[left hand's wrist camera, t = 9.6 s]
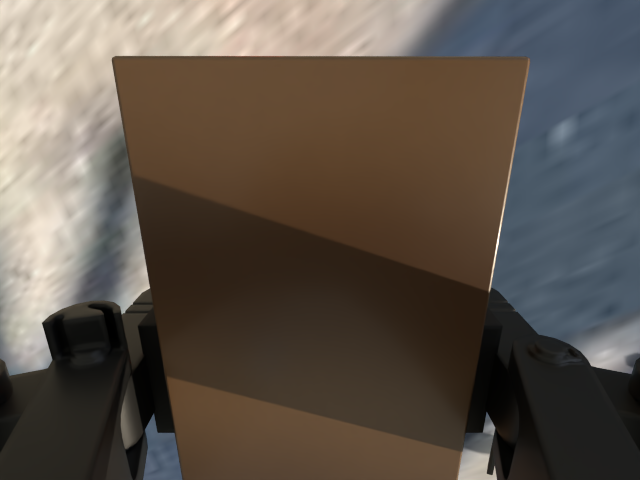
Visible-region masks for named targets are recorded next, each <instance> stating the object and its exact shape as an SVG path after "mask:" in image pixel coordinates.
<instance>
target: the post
mask: <svg viewBox="0 0 640 480" xmlns="http://www.w3.org/2000/svg"><path fill="white" fill-rule="evenodd" d="M529 64H530V58H528V57H415V56H115V57H113V58H112V65H113V71H114V76H115V82H116V88H117V94H118V100H119V106H120V112H121V118H122V124H123V130H124V136H125V142H126V148H127V153H128V159H129V165H130V171H131V177H132V183H133V189H134V195H135V201H136V207H137V213H138V219H139V225H140V231H141V236H142V242H143V248H144V254H145V260H146V266H147V272H148V278H149V284H150V290H151V296H152V302H153V308H154V313H155V319H156V325H157V331H158V337H159V343H160V349H161V355H162V361H163V367H164V373H165V379H166V385H167V391H168V396H169V402H170V408H171V414H172V420H173V426H174V432H175V438H176V444H177V450H178V456H179V462H180V468H181V473H182V479H183V480H458V474H459V468H460V462H461V456H462V451H463V445H464V439H465V433H466V428H467V422H468V416H469V410H470V405H471V399H472V393H473V387H474V382H475V376H476V370H477V364H478V358H479V353H480V347H481V341H482V335H483V330H484V324H485V318H486V312H487V307H488V301H489V295H490V289H491V283H492V278H493V272H494V266H495V260H496V255H497V249H498V243H499V237H500V232H501V226H502V220H503V214H504V209H505V203H506V197H507V191H508V185H509V180H510V174H511V168H512V162H513V157H514V151H515V145H516V139H517V134H518V128H519V122H520V116H521V110H522V105H523V99H524V93H525V87H526V82H527V76H528V70H529Z"/></svg>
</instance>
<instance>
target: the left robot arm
mask: <svg viewBox="0 0 640 480" xmlns="http://www.w3.org/2000/svg"><path fill="white" fill-rule="evenodd" d="M42 325H43V328H44V332H45V335H46V339H47V342H48V346H49V349H50V353H51V356H52V362H51V364H50V366H49V367H48V368H47V369H43V370H38V371H33V372H28V373H22V374H17V375H12V376H9V373H8V370H7V367H6V364H5V362H4V361H3V360H1V359H0V480H143V476H144V469H145V462H146V456H147V449H148V445H147V438H146V433H145V429H146V427H147V425H148V423H149V421H150V419H151V417H152V415H153V414H154V416H155V421H156V426H157V432H158V433H175V432H174V426H173V420H172V414H171V408H170V402H169V396H168V391H167V385H166V379H165V373H164V367H163V361H162V355H161V349H160V343H159V337H158V331H157V325H156V319H155V313H154V308H153V302H152V296H151V290H150V289H148V290H146V291H145V292H143V293H142V294H141V295H140V296H139V297H138V298H137V299H136V300H135V301H134V302H133V305H131V306H130V307H129V308H128V309H127V310H126V311H125V313H123V314H121V309H120V306H119V305H117V304H116V303H114V302H109V301H89V302H84V303H79V304H75V305H72V306H69V307H67V308H64V309H61V310H59V311H58V312H56V313H54V314H52V315H50V316H49V317H48V318H47V319H46V320H45V321H44V322H43V323H42ZM486 412H487V413H488V415H489V416H490V418H491V420H492V422H493V424H494V426H495V433H494V438H493V443H492V447H491V452H490V457H489V462H488V469H487V474H490V475H493V470H494V466H495V468H496V475H497V480H640V358H639V359H637V360H636V362H635V365H634V368H633V371H632V374H628V373H622V372H617V371H612V370H607V369H602V368H596V367H592V366H591V365H590V363H589V361H588V360H587V359H586V357H585V356H584V355H583V354H582V353H581V352H580V351H579V350H577V349H576V348H574V347H573V346H571V345H570V344H568V343H565V342H563V341H560V340H558V339H555V338H551V337H547V336H543V335H538V334H537V333H536V331H535V330H534V329H533V328H532V327H531V326H530V325H529V324H528V323H527V322H526V321H525V320H524V319H523V317H522V316H521V315H520V314H519V313H518V312H515V309H514V308H513V307H512V306H511V305H510V304H509V303H508V301H507V300H506V299H505V298H504V297H503V296H502V295H501V294H500V293H499V292H498V291H497V290H495V289H493V288H491V289H490V295H489V301H488V307H487V312H486V318H485V324H484V330H483V335H482V341H481V347H480V353H479V358H478V364H477V370H476V376H475V382H474V387H473V393H472V399H471V405H470V410H469V416H468V422H467V428H466V433H483V428H484V423H485V417H486Z"/></svg>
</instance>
